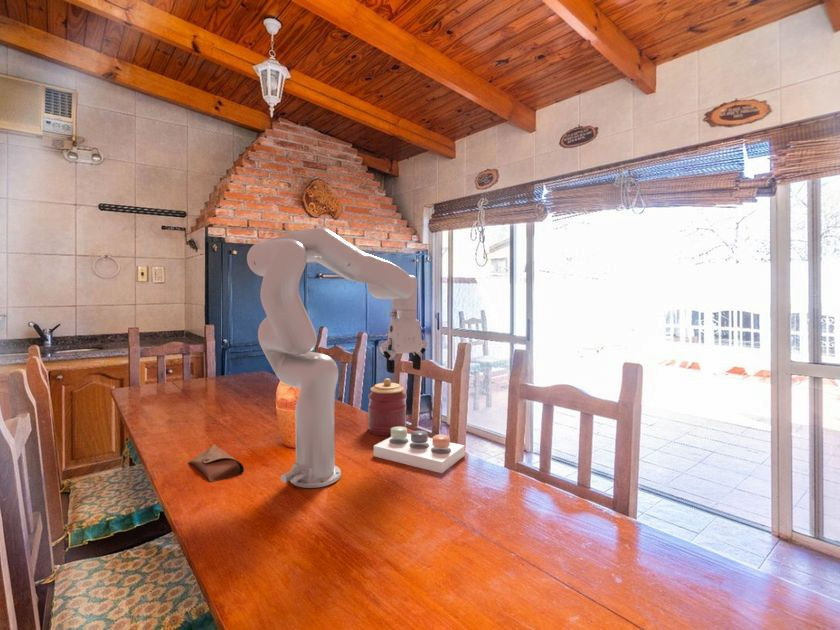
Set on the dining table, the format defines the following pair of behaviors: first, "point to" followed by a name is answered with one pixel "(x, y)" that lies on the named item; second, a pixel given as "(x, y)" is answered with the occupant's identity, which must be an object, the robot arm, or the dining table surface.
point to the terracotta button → (441, 441)
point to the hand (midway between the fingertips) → (403, 370)
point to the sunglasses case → (217, 464)
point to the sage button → (398, 432)
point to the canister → (386, 408)
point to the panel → (419, 453)
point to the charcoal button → (419, 436)
